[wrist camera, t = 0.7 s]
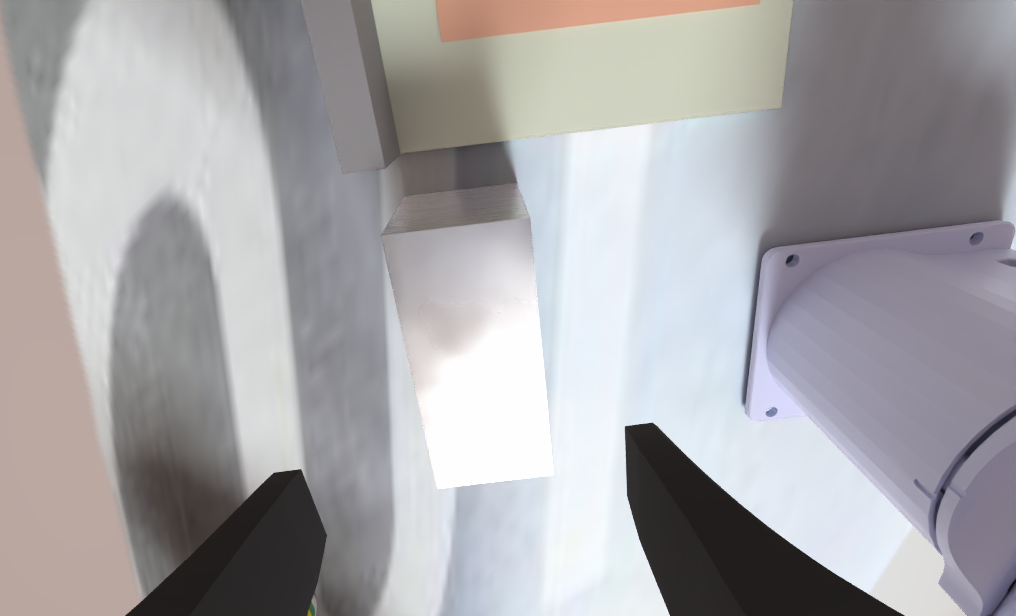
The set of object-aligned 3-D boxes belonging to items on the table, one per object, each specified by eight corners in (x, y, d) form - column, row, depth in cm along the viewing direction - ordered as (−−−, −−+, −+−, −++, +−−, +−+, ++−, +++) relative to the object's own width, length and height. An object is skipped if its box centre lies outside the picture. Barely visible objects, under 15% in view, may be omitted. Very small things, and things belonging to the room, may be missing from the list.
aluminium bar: (405, 195, 18) (380, 235, 13) (516, 181, 18) (530, 217, 13) (445, 402, 22) (437, 488, 17) (537, 391, 22) (553, 474, 17)
